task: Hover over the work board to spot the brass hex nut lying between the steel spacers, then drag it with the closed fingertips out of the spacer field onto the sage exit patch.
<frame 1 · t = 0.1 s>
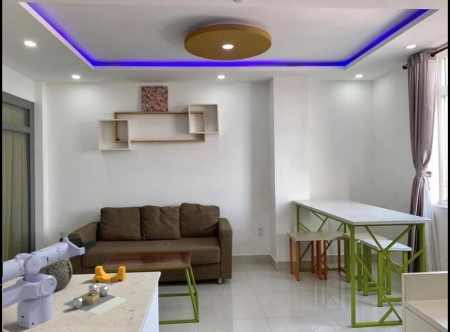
hand: (88, 241, 126), 22 cm above the kitchen counter, tool horizontal, fingers open, 7 cm apart
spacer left: (78, 307, 117), resting on work board
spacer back: (93, 293, 129), resting on work board
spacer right: (103, 295, 127), resting on work board
pipe clamp: (109, 283, 143), on the kitchen counter
work board: (96, 304, 122), on the kitchen counter
brass nut: (91, 301, 122), point 1 cm above the kitchen counter, touching work board
decorative egg: (56, 290, 136), on the kitchen counter
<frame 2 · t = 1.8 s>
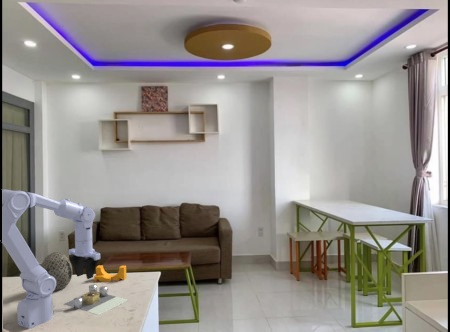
hand: (84, 276, 123), 9 cm above the kitchen counter, tool pointing down, fingers open, 5 cm apart
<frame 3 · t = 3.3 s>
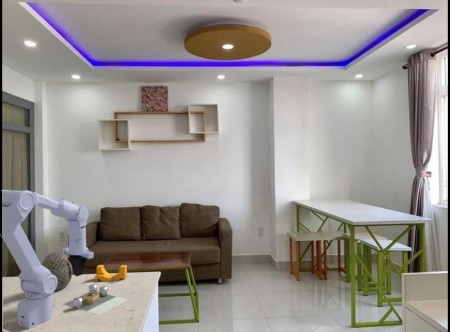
hand: (78, 275, 125), 9 cm above the kitchen counter, tool pointing down, fingers closed
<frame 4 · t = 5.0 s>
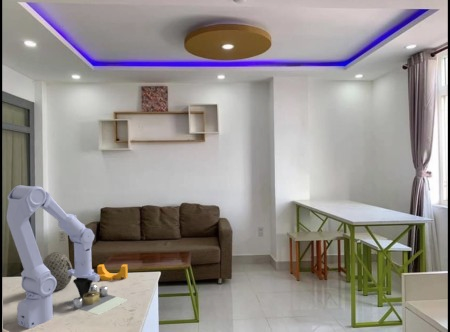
hand: (84, 297, 124), 2 cm above the kitchen counter, tool pointing down, fingers closed
brass nut: (91, 301, 122), point 1 cm above the kitchen counter, touching gripper, work board
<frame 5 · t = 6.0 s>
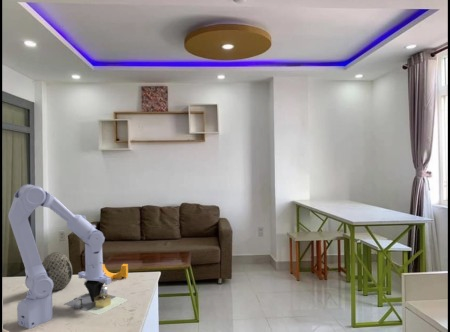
hand: (95, 300, 121), 2 cm above the kitchen counter, tool pointing down, fingers closed
brass nut: (102, 304, 120), point 1 cm above the kitchen counter, touching gripper
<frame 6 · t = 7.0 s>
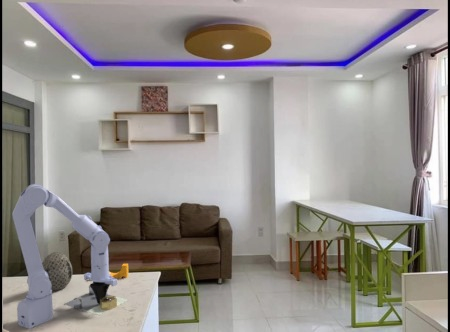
hand: (101, 302, 120), 2 cm above the kitchen counter, tool pointing down, fingers closed
brass nut: (108, 306, 118), point 1 cm above the kitchen counter, touching gripper, work board
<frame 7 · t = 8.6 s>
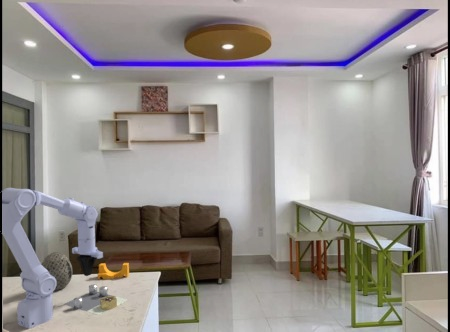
hand: (87, 274, 125), 9 cm above the kitchen counter, tool pointing down, fingers closed
brass nut: (108, 306, 118), point 1 cm above the kitchen counter, touching work board
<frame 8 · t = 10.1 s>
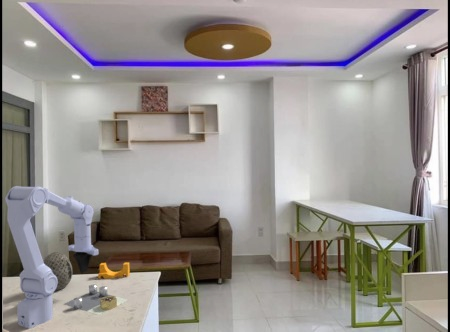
hand: (83, 271, 129), 9 cm above the kitchen counter, tool pointing down, fingers closed
at the end: brass nut inside the target area (0.7 cm from its centre), point 1.0 cm above the kitchen counter; brass nut moved 8.7 cm from its start; brass nut tilted 0° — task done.
